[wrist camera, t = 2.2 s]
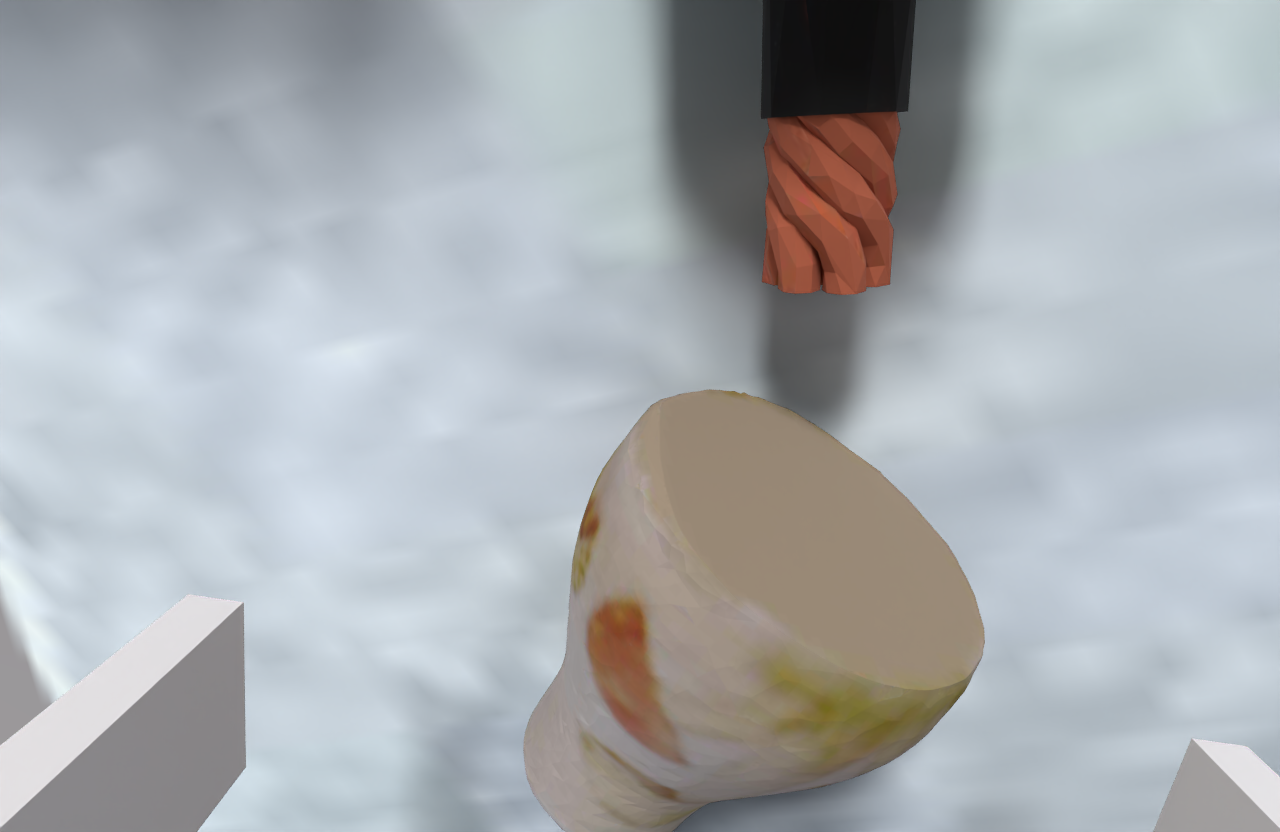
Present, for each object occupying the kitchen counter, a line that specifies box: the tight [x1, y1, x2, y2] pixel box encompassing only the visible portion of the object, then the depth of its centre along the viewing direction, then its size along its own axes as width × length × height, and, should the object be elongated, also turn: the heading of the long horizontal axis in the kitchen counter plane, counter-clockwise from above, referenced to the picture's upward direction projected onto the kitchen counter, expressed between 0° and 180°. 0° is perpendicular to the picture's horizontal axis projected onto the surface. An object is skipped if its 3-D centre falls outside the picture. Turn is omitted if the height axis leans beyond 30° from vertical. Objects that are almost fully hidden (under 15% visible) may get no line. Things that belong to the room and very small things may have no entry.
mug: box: [523, 390, 985, 832], centre depth 14 cm, size 8×10×10 cm
